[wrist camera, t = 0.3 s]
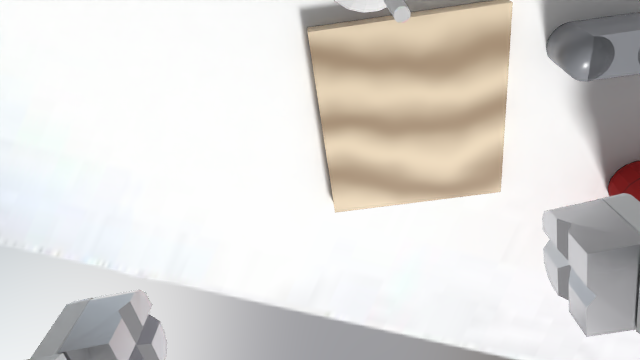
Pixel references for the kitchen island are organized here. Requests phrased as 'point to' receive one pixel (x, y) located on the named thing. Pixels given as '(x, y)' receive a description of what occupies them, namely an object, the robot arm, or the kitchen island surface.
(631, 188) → the plastic cup
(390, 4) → the humidifier
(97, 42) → the kitchen island surface
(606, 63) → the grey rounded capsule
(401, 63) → the oak board
